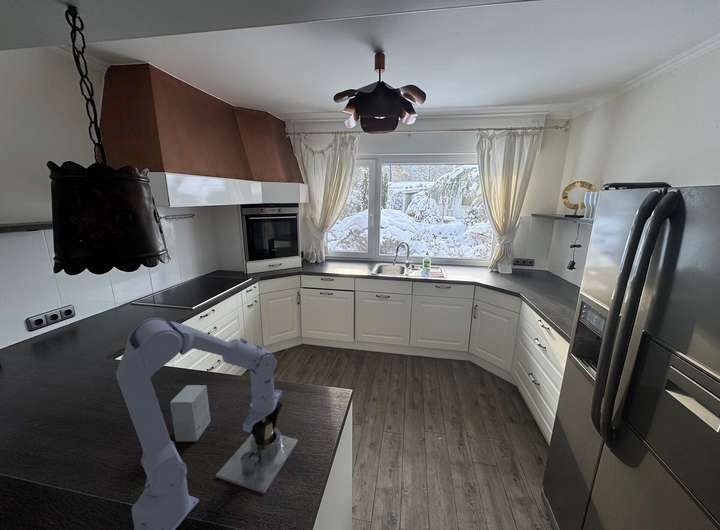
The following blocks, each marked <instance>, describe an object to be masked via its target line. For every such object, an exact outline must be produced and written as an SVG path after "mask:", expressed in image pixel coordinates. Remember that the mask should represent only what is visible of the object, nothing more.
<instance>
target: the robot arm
mask: <svg viewBox="0 0 720 530" xmlns="http://www.w3.org/2000/svg"><path fill="white" fill-rule="evenodd" d="M169 322H170V324H171V325H170V324H169ZM169 322H168V321H166V320H165V319H164V318H160V317H151V318H147V319H145V320H143V321H141V322H140V323H139V324H137V326H136V327H134V329H133V330H132V331H131V332H130V333H129V334H128V336H127V341H126V345H125V347H124V348H125V349H124V351H123V353H122V355H121V358H120V360H119V363H118V366H117V369H116V371H115V376H116V379H117V382H118V386H119V389H120V390H121V391H120V392H121V393H122V397H123V398H124V401H125V404H126V407H127V410H128V412H129V415H130V419H131V421H132V423H133V426H134V429H135V431H136V434H137V438H138V440H139V442H140V446H141V449H142V457H141V460H140V463H141V466H142V468H143V469H144V472H145V474H146V480H145V484H144V490H143V492H142V494H141V495H140V497H139V498H138V500H137V501H136V502H135V503H134V504H133V505H132V507H131V515H132V516H131V517H132V521H133V527H134V529H133V530H176V529H177V528H178V527H179V526H180V525H181V524H182V522H183V521H184V520H185V519H186V517H188V515H189V514H191V513H190V512H192V510H193V509H194V508H195V507H196V506H197V505H198V504H199V501H200V499H199V498H197V497H194V496H191V495H190V494H189V489H188V482H187V473H188V468H187V467H188V466H187V464H186V463H185V462H184V461H183V460H182V458H181V456H180V454H179V452H178V451H177V448H176V444H175V442H174V441H172V440H171V438H170V437H171V436H170V434H169V431H168V429H167V425H166V423H165V420H164V419H165V418H164V415H163V413H162V411H161V407H160V404H159V401H158V398H157V395H156V392H155V389H154V385H153V382H152V380H151V379H152V376H153V375H154V374H155V373H156V372H158V371H159V370H160V369H161V368H162V367H164V366H165V365H166V364H167V363H169V362H170V361H172V360H173V359H174V358H175V357H176V356H177V355H178V354H180V355H181V356H183V355H186V353H188V352H190V351H191V350H198V351H202V352H207V353H210V354H215V355H218V356H221V357H222V360H223V362H224V363H226V364H230V365H232V366H236V367H239V368H242V369H245V370H249V373H250V375H249V376H250V389H251V403H250V404H249V408H251V409H250V411H249V413H248V415H247V417H246V419H245V421H244V422H243V424H242V430H243V431H244V432H246V433H247V432H248V433H251V434H253V436H254V438H255V441H256V443H259V444H263V443H264V440H265V429H266V426H267V423H266V422H262V420H261V419H264V418H269V419H271V420H272V427H273V430H274V429H275V428H277V427H276V426H277V421H278V417H279V414H280V412H281V409H282V407H283V404H282V402H279V399H282V397H283V390H279V389H275V382H274V381H275V380H274V375H275V374H274V372H275V369H276V367H277V365H278V359H276V357H275V355H274V354H273V353H272V352H271V351H269V350H268V349H266V348H265V347H263V346H261V345H259V344H256V345H254V344H252V343H249V341H248V340H247V339H245V338H243V337H240V339H237V338H234V339H231V340H229V341H227V340H224V339H221V338H218V337H216V336H214V335H212V334H209V333H206V332H204V331H201V330H199V329H196V328H194V327H191V326H189V325H185V324H183V323H179V322H176V321H170V320H169Z"/></svg>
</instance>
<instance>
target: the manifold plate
mask: <svg viewBox="0 0 720 530" xmlns="http://www.w3.org/2000/svg"><path fill="white" fill-rule="evenodd" d="M273 438H274V442H273V443H271V444H270V445H268V446H259V445H257V443H256V441H255V438H254V436H253V434H252V433H251V434H250V435H249V437H248V438H246V439H245V441H244V442H243V444H241V446H240V447H239V448H238V449H237V450H236V451H235V453H234V454H233V455H232V456H231V457H230V458H229V459H228V460H227V462H225V464H224V465H223V466H222V467H221V469H220V470H219V471H218V472H217V473H216V475H215V476H216V478H218V479H221V480H223V481H226V482H229V483H232V484H235V485H239V486H241V487H244V488H246V489H249V490H252V491H255V492H258V493H260V494H266V492H267V490H268V488H269V487H270V486H271V485H272V483H273V481H274V480H275V478H276V476H277V475H278V473H279V472H280V470H281V468H282V467H283V466H284V464H285V463H286V461H287V459H288V458H289V456H290V455H291V453H292V452H293V450H294V449H295V448H296V445H297V444H298V442H299V439H296V438H293V437H290V436H286V435H282V432H281V431H280V430H279V428H277V427H275V429H274V430H273Z"/></svg>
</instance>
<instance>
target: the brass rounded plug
mask: <svg viewBox="0 0 720 530" xmlns="http://www.w3.org/2000/svg"><path fill="white" fill-rule="evenodd" d="M261 420H262V422H266V423H267V426H266V429H265V440H264V443H263V444H259V443H257V445H259V446H268V445H270V444H271V443H273V442H274V438H273V427H272V420H271V419H269V418H266V417H264V418H263V419H261Z"/></svg>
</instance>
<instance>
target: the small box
mask: <svg viewBox="0 0 720 530" xmlns="http://www.w3.org/2000/svg"><path fill="white" fill-rule="evenodd" d="M169 404H170V411H171V417H172V425H173V432H174V438H175V442H198V440H199V439H200V438H201V436H202V435H203V433H204V432H205V430H206V429H207V428H208V426H209V425H210V424H211V421H212V420H211V414H210V412H211V411H210V406H209V395H208V386H207V385H206V384H204V385H202V384H201V385H200V384H192V385H191V384H189V385H188V384H187V385H185V387H183V388H182V389H181V391H179V393H178V394H176V396H174V397H173V398H172V399H171V401H170V403H169Z"/></svg>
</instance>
